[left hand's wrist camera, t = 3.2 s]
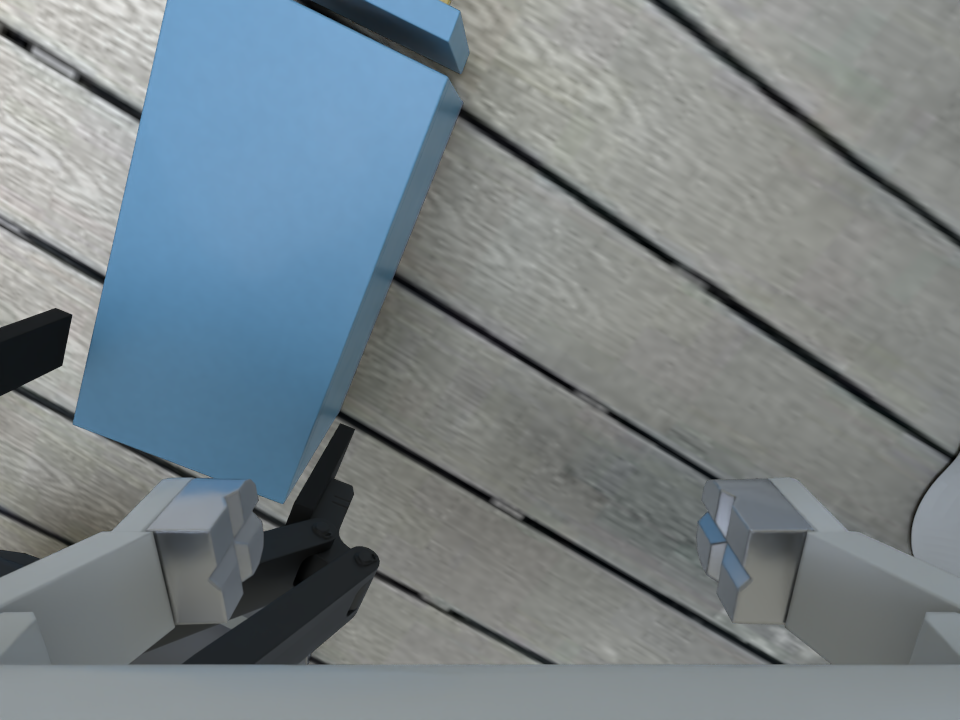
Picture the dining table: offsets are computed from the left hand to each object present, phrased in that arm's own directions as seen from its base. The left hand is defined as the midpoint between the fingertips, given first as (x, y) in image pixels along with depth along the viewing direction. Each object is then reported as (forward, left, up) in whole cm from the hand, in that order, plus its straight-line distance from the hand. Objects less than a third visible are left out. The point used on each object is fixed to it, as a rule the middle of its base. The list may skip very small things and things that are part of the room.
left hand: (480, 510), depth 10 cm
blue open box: (+9, -6, -27) cm, 29 cm away
